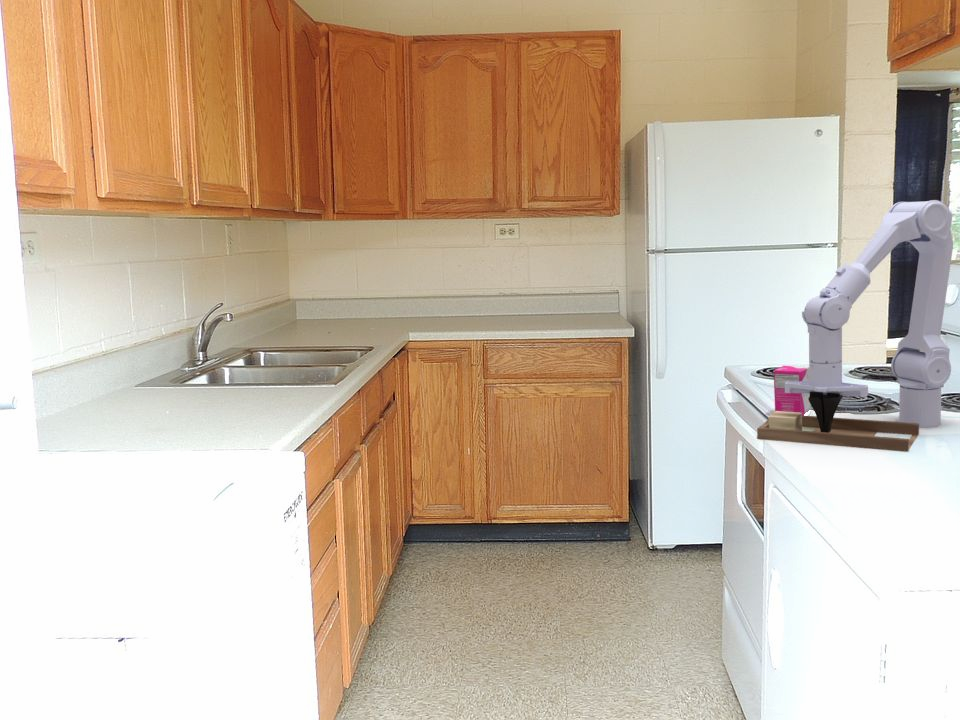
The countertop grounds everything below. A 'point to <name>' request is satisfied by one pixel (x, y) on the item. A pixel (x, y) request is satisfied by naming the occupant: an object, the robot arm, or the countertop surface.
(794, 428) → the birch block
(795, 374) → the supplement box
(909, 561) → the countertop surface
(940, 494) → the countertop surface
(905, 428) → the compartment tray
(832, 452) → the countertop surface
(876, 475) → the countertop surface
